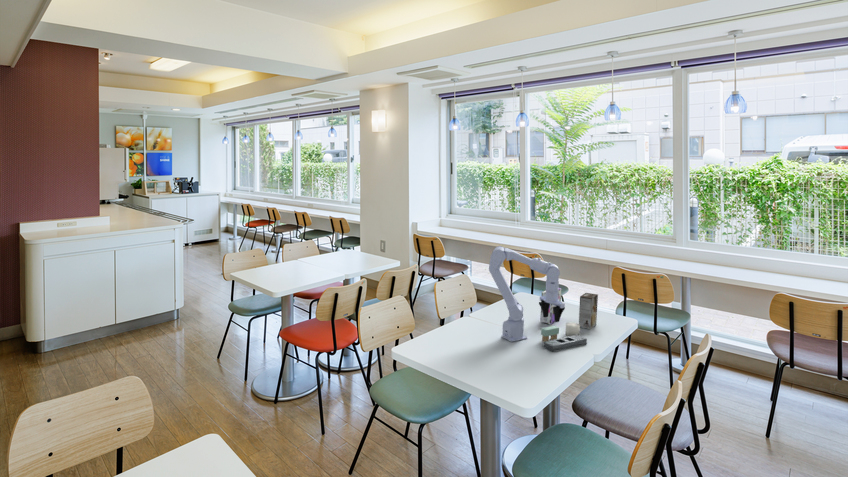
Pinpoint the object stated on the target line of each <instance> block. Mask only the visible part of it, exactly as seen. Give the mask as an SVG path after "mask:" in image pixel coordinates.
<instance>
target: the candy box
mask: <svg viewBox="0 0 848 477" xmlns="http://www.w3.org/2000/svg"><path fill="white" fill-rule="evenodd" d="M541 296H545V297H546V289H545V290H544V291H542V292H541ZM558 299H560V301H561V302H562V288H561V287H559V293H558ZM553 307H556V306H555V305H552V304H550V306H549V313H548V317H543V312H542V309H541V308H540V321H539V322H540V323H543V324H546V325H552V324H553V323H556V322H555V319H554V311H553Z"/></svg>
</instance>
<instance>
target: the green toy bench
mask: <svg viewBox="0 0 848 477" xmlns="http://www.w3.org/2000/svg"><path fill="white" fill-rule="evenodd" d="M559 334H560V327H558V326H557V325H552V326H547V327H546V326H545V327H542V328H541V329H540V335H541V337H542V339H541V341H542V342H544V341H549V340H554V339H558V335H559Z"/></svg>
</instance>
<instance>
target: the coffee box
mask: <svg viewBox="0 0 848 477" xmlns="http://www.w3.org/2000/svg"><path fill="white" fill-rule="evenodd" d="M598 298H599V294H597V293H591V292H585V293H583V294H582V295H580V296H579V309H578V311H579V312H578V324H579V325H580V328H582V329H588V330H592V329H593V328H594V327H596V326H597V320H598V319H597V316H598V304H599V303H598V300H599V299H598Z"/></svg>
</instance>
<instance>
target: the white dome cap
mask: <svg viewBox="0 0 848 477" xmlns="http://www.w3.org/2000/svg"><path fill="white" fill-rule="evenodd" d="M580 328H581V327H580V325H579V323H576V322H566V323H565V331H564V332H565V336H566V337H568V336H573V335H579V336H580V333H581V332H580Z"/></svg>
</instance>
